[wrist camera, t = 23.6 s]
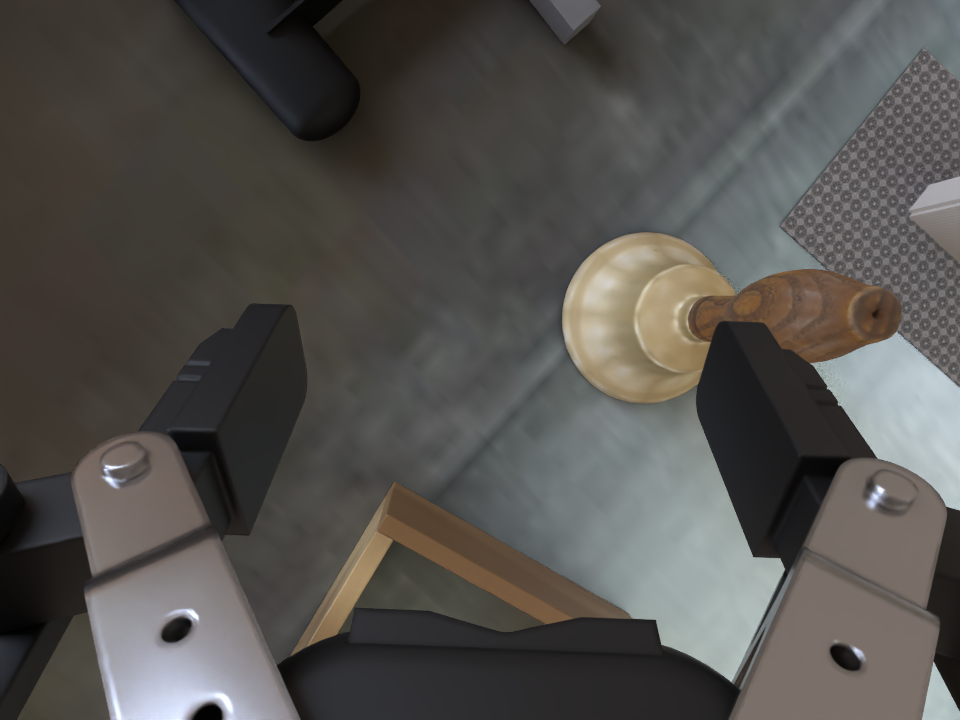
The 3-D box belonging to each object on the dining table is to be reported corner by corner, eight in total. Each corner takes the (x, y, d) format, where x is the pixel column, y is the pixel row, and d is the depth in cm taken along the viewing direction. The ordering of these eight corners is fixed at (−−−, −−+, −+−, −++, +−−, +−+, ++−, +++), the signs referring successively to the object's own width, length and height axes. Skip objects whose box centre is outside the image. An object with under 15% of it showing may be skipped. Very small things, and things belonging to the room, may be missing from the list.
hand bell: (599, 429, 30) (789, 552, 14) (535, 273, 29) (656, 213, 13) (751, 363, 30) (1104, 407, 14) (691, 206, 29) (992, 70, 14)
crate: (490, 842, 31) (501, 942, 26) (251, 720, 29) (213, 801, 24) (629, 613, 30) (667, 670, 26) (394, 481, 29) (386, 513, 24)
